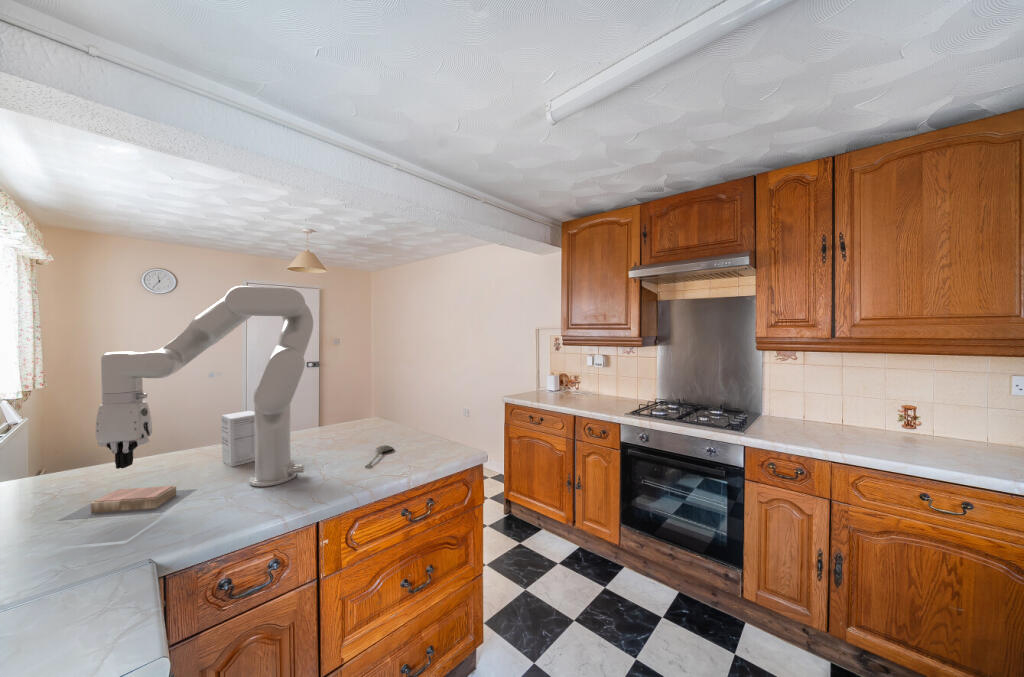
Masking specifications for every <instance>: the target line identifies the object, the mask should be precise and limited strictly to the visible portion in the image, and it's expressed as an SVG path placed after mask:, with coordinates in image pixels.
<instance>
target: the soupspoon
mask: <svg viewBox="0 0 1024 677" xmlns="http://www.w3.org/2000/svg"><path fill="white" fill-rule="evenodd" d="M394 449H395V448H394V447H392V446H390V445H387V444H386V445H380V446H378V447H376V448H375V450H376V451H377V452H378V453H377V454H376V455H375V456H374V457H373V458H372V460H371V461H369V463H368V464H366V465H365V468H366V469H371V465H372V464H373V462H374V461H375V460H376V459H377V458H378V457H379V456H380V455H381V454H382V453H384V452H388V451H390V450H394Z"/></svg>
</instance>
